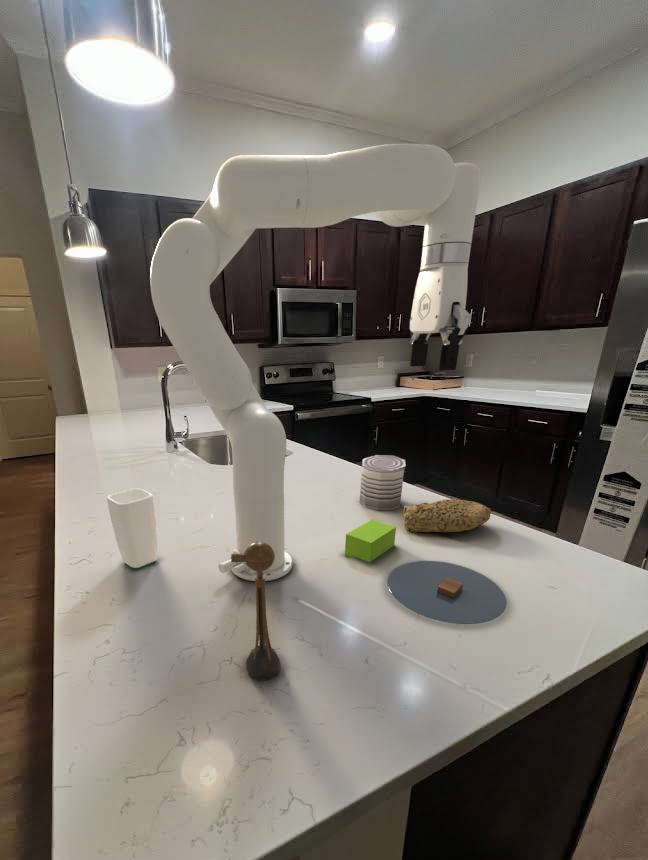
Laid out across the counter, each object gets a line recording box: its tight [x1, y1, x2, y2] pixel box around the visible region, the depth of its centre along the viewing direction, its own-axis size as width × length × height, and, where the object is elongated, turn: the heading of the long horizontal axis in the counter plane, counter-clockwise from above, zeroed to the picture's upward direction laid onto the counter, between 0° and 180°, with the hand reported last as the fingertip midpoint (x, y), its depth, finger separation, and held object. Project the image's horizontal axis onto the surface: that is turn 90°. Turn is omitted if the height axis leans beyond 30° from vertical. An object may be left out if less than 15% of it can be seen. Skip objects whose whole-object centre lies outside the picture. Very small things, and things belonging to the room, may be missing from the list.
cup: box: [106, 487, 158, 569], centre depth 85 cm, size 7×7×15 cm
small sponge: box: [344, 519, 397, 563], centre depth 89 cm, size 10×6×5 cm, turn 136°
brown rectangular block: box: [437, 578, 463, 598], centre depth 75 cm, size 4×3×1 cm
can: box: [359, 454, 407, 511], centre depth 113 cm, size 11×11×12 cm
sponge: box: [402, 498, 492, 533], centre depth 99 cm, size 13×8×20 cm
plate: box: [386, 560, 507, 625], centre depth 76 cm, size 20×20×1 cm
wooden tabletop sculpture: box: [230, 542, 281, 681], centre depth 55 cm, size 6×5×20 cm
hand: (431, 367), depth 76 cm, fingers open, 9 cm apart
